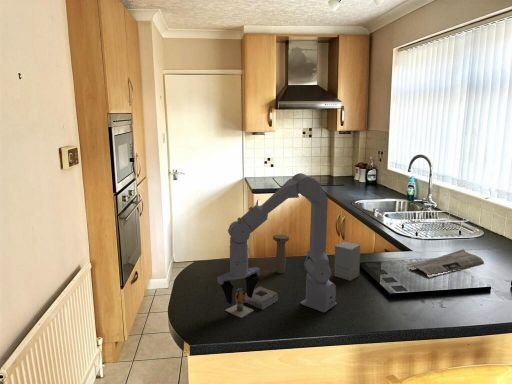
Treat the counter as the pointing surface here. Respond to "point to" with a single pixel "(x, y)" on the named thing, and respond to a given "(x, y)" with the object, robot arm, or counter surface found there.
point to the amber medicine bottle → (240, 299)
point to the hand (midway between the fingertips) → (239, 299)
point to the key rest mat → (239, 313)
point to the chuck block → (262, 298)
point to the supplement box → (347, 260)
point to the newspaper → (448, 262)
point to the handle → (280, 252)
